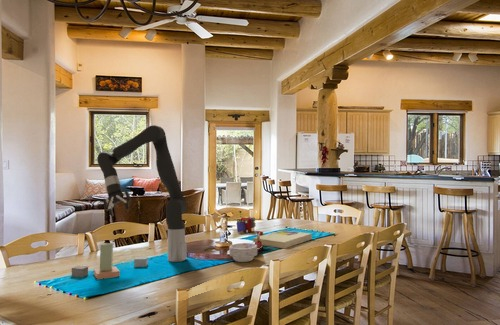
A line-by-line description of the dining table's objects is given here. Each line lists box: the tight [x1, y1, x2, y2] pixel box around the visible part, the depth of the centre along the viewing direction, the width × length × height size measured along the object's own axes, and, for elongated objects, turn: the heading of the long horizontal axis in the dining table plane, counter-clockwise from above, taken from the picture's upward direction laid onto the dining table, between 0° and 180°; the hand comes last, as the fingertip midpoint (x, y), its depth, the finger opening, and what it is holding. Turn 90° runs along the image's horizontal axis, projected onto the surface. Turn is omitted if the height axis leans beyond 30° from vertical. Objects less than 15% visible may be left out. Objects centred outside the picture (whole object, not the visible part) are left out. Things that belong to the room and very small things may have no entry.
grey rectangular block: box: [71, 265, 89, 278], centre depth 194 cm, size 6×4×4 cm, turn 73°
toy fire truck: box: [255, 231, 264, 248], centre depth 252 cm, size 3×14×10 cm, turn 168°
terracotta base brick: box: [93, 266, 121, 280], centre depth 195 cm, size 10×10×3 cm
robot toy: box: [236, 210, 257, 234], centre depth 309 cm, size 17×9×20 cm
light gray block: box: [133, 256, 149, 268], centre depth 212 cm, size 6×4×4 cm, turn 93°
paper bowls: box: [228, 242, 258, 263], centre depth 223 cm, size 15×15×8 cm
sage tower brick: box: [99, 242, 114, 271], centre depth 195 cm, size 5×5×12 cm
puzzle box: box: [252, 230, 313, 249], centre depth 273 cm, size 36×5×24 cm
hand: (120, 213), depth 219 cm, fingers open, 8 cm apart
